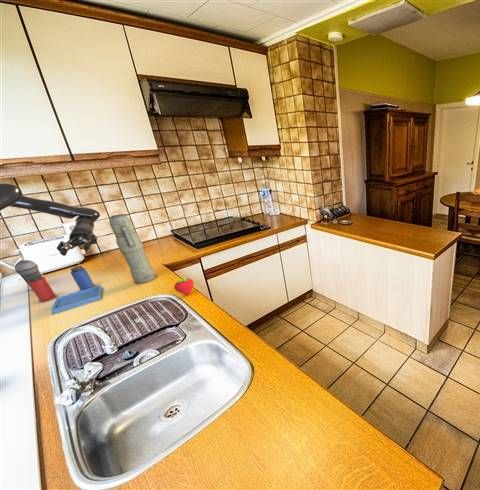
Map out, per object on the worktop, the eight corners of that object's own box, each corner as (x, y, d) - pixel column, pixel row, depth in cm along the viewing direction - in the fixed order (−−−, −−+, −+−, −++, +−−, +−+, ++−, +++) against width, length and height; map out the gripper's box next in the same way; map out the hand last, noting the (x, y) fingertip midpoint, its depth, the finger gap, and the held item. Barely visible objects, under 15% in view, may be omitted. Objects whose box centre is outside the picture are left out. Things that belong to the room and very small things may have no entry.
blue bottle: (80, 292, 130) (67, 271, 125) (81, 288, 134) (69, 267, 129) (94, 288, 133) (83, 267, 128) (95, 284, 137) (84, 264, 132)
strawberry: (176, 296, 122) (169, 277, 118) (194, 288, 127) (188, 270, 123) (180, 300, 119) (172, 281, 115) (198, 293, 124) (192, 274, 120)
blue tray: (53, 314, 115) (51, 310, 114) (58, 301, 124) (56, 297, 123) (100, 299, 123) (98, 295, 123) (102, 288, 133) (100, 285, 132)
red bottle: (39, 303, 123) (24, 281, 118) (41, 298, 127) (27, 277, 122) (55, 298, 126) (41, 276, 121) (57, 294, 130) (43, 273, 125)
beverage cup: (25, 290, 135) (2, 255, 127) (45, 283, 142) (24, 249, 134) (32, 292, 133) (8, 256, 125) (52, 285, 139) (31, 250, 131)
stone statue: (140, 286, 133) (109, 219, 119) (131, 280, 138) (100, 216, 125) (160, 278, 139) (133, 214, 125) (150, 273, 145) (124, 211, 131)
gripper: (58, 231, 135) (49, 250, 124) (94, 223, 140) (87, 241, 130) (69, 242, 140) (61, 261, 129) (103, 234, 145) (97, 252, 135)
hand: (74, 251), depth 129 cm, fingers open, 8 cm apart
